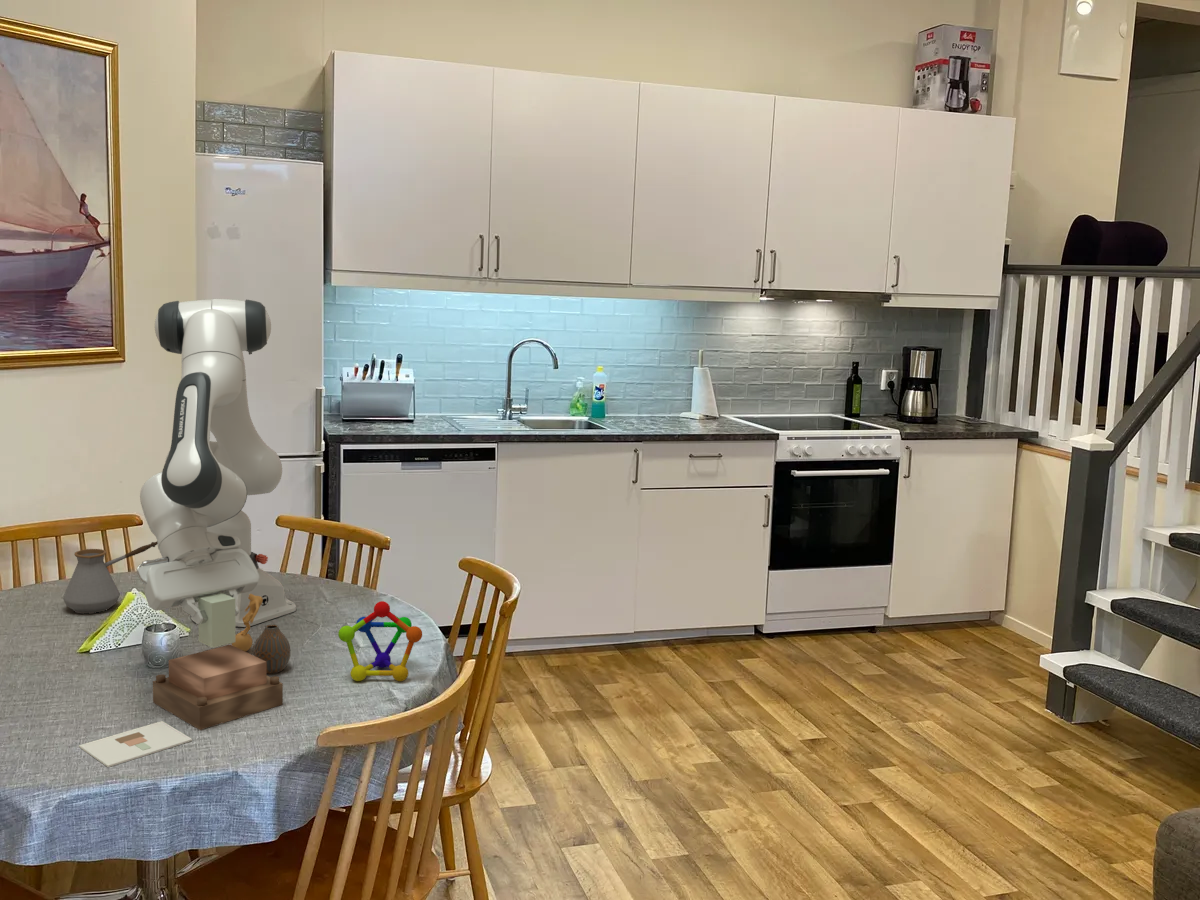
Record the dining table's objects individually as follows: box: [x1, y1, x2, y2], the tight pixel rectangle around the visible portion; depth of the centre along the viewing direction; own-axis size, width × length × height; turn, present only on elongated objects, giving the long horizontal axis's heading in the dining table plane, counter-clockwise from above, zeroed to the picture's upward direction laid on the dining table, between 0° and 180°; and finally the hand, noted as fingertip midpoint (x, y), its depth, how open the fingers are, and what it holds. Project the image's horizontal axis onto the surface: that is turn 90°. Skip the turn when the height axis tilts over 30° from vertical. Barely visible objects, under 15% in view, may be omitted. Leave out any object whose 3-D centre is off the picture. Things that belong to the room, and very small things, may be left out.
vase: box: [252, 624, 291, 674], centre depth 212 cm, size 7×7×9 cm
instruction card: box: [78, 720, 193, 768], centre depth 178 cm, size 14×10×1 cm
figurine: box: [231, 594, 263, 652], centre depth 221 cm, size 8×6×12 cm
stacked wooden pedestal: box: [152, 644, 284, 731], centre depth 195 cm, size 16×16×8 cm
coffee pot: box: [62, 541, 158, 614], centre depth 245 cm, size 21×12×15 cm, turn 113°
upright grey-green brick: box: [197, 593, 236, 649], centre depth 193 cm, size 4×4×8 cm
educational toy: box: [337, 600, 423, 682], centre depth 212 cm, size 16×13×15 cm
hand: (218, 618), depth 193 cm, fingers closed on upright grey-green brick, 4 cm apart
